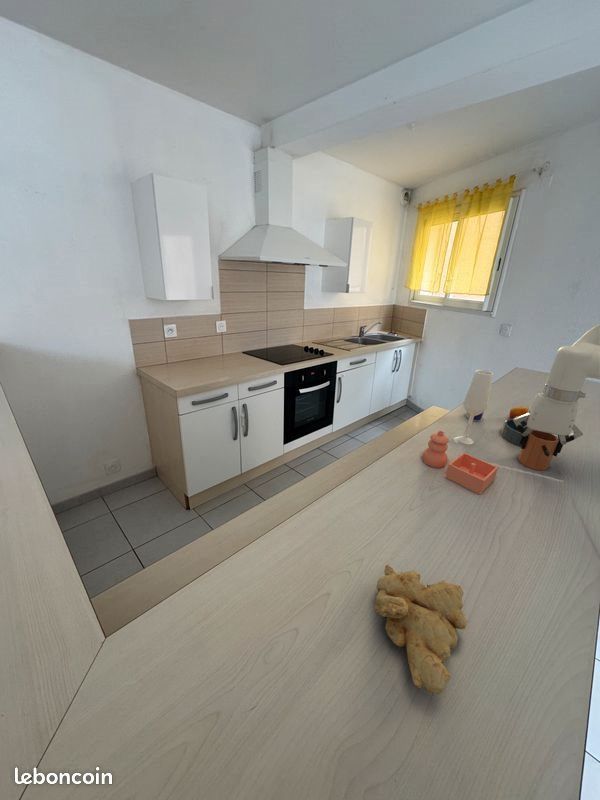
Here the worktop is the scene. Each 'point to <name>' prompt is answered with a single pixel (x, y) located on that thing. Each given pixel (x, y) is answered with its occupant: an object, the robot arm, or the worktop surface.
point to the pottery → (459, 465)
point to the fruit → (518, 412)
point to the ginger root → (421, 623)
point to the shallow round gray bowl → (511, 431)
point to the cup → (538, 450)
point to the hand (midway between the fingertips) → (537, 449)
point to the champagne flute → (476, 400)
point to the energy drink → (475, 417)
